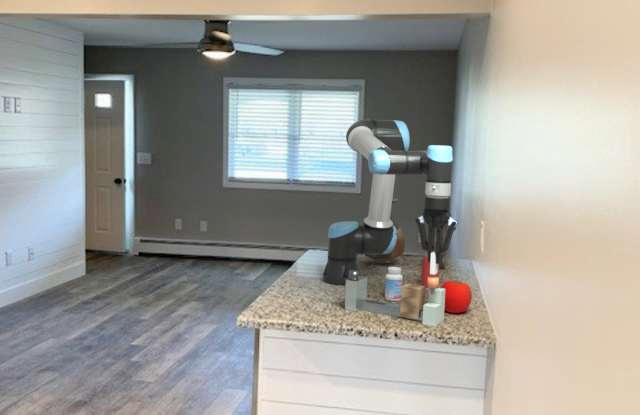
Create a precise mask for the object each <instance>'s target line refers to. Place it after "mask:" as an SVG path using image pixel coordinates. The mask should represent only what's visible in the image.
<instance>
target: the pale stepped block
mask: <svg viewBox="0 0 640 415" xmlns="http://www.w3.org/2000/svg"><path fill="white" fill-rule="evenodd" d="M444 308H445V289H443V288H441V287H438V288H437V289H435V294H431V288H429V289H428V302H426V303H425V304H424V305H423V321H421V322H422V325H425V326H430V327H436V326H438V325H439V324H440V323H441V322H443V321H444V320H445V310H444Z"/></svg>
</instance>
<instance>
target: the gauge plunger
mask: <svg viewBox="0 0 640 415" xmlns="http://www.w3.org/2000/svg"><path fill="white" fill-rule="evenodd" d="M439 281H440V277H439V278H438V277H433V276H430V277H428V282H427V287H426V288H429V289H431V294H435V289H437V288H440V287H439V284H440V282H439Z"/></svg>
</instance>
